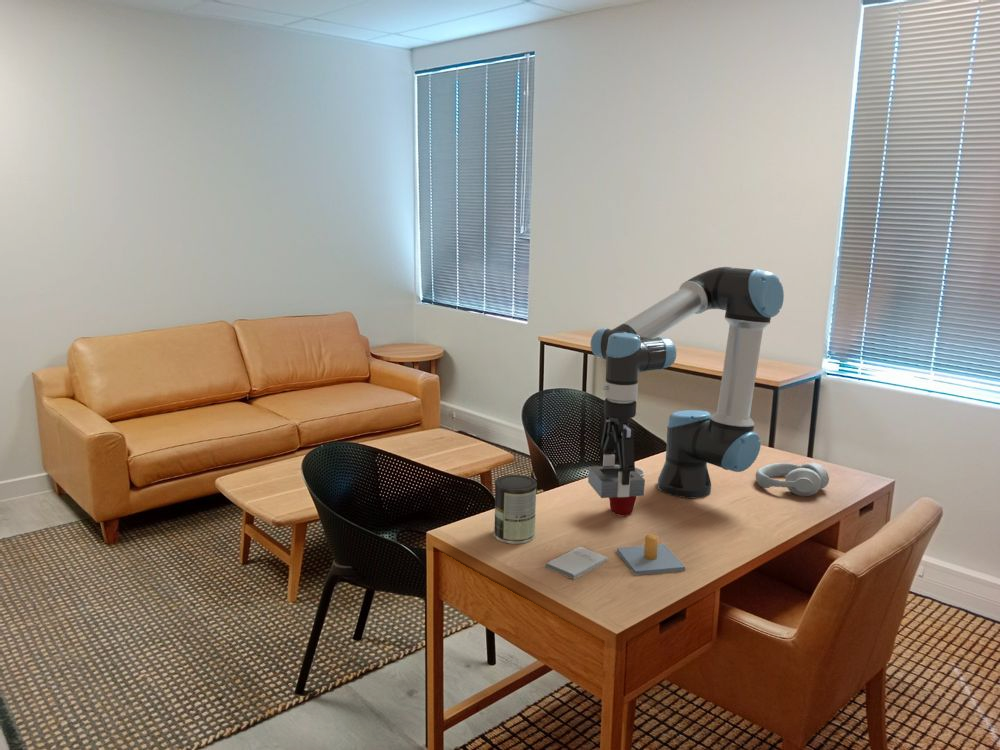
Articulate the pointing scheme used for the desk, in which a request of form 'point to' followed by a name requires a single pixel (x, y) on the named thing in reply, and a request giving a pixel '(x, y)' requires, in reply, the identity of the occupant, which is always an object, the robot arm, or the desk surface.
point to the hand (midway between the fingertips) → (615, 487)
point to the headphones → (794, 477)
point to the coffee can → (515, 508)
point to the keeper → (650, 558)
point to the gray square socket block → (613, 481)
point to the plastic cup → (624, 501)
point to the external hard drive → (576, 562)
